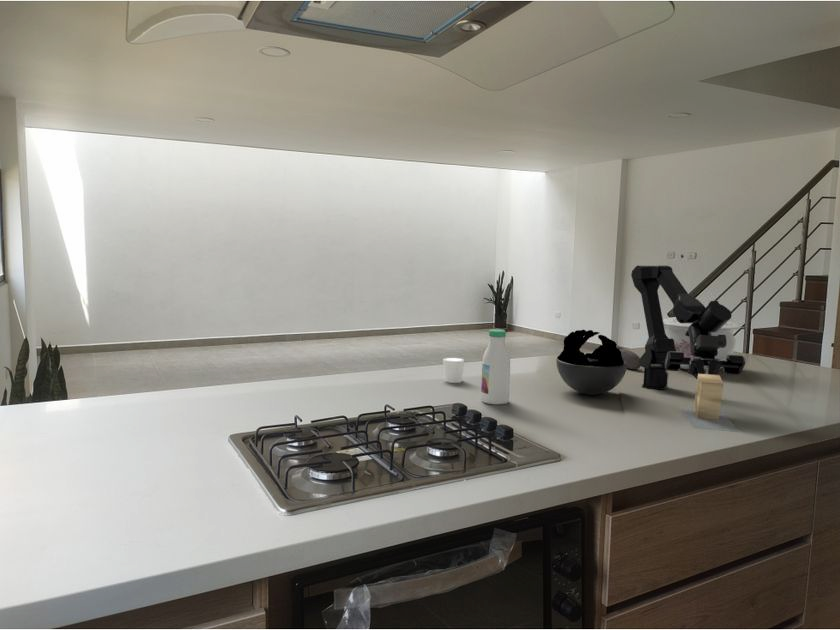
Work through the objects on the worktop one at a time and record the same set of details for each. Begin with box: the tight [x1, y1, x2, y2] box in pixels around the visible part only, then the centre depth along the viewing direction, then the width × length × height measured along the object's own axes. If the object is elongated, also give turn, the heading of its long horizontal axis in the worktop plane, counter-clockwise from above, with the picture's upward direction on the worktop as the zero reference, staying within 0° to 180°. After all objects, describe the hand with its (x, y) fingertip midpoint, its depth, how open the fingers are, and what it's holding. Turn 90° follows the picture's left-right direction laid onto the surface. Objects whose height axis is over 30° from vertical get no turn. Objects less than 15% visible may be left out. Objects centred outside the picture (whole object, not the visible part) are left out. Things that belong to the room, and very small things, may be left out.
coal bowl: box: [555, 329, 628, 396], centre depth 172 cm, size 20×20×19 cm
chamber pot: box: [663, 316, 742, 373], centre depth 214 cm, size 28×28×21 cm
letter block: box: [693, 374, 725, 419], centre depth 149 cm, size 5×5×10 cm
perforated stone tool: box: [616, 346, 641, 370], centre depth 212 cm, size 15×5×7 cm, turn 24°
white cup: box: [442, 357, 465, 384], centre depth 186 cm, size 7×7×7 cm
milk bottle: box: [480, 328, 511, 406], centre depth 161 cm, size 8×8×20 cm
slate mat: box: [681, 408, 740, 433], centre depth 147 cm, size 17×10×1 cm, turn 165°
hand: (707, 389), depth 151 cm, fingers closed
